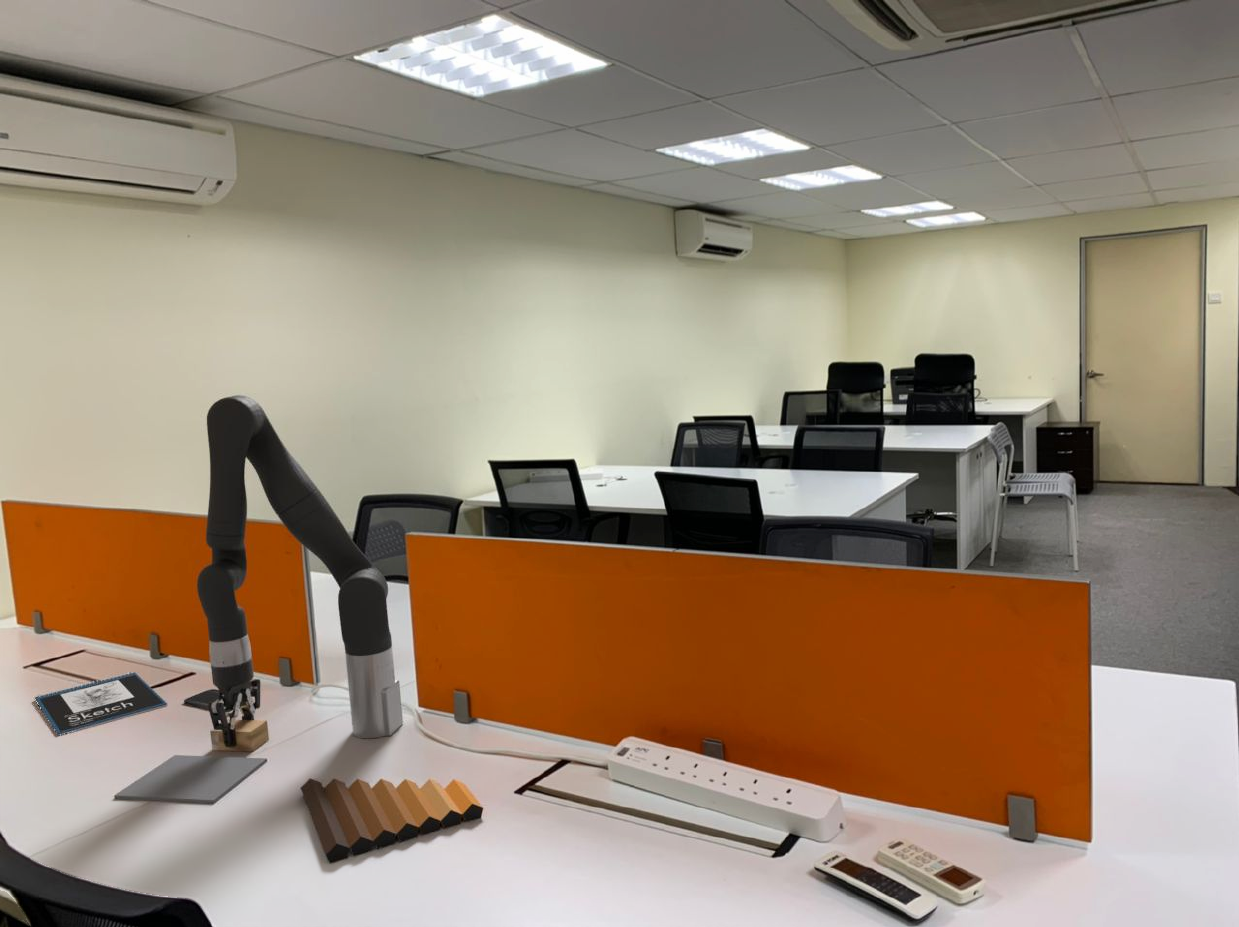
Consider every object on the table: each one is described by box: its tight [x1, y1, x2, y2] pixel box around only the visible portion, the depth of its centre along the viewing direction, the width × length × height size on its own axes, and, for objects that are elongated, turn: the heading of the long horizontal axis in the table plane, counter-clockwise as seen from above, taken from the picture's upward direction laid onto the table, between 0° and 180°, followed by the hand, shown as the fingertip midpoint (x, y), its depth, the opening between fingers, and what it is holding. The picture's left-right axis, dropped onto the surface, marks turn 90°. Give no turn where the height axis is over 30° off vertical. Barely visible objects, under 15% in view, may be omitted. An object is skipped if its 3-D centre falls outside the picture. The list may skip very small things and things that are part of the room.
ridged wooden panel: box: [300, 777, 484, 864], centre depth 150 cm, size 25×3×25 cm
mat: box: [113, 754, 268, 804], centre depth 164 cm, size 20×16×1 cm
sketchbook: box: [34, 671, 168, 736], centre depth 206 cm, size 22×30×2 cm
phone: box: [183, 688, 233, 713], centre depth 202 cm, size 8×1×15 cm
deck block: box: [209, 718, 270, 752], centre depth 178 cm, size 9×6×4 cm, turn 79°
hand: (240, 739), depth 178 cm, fingers closed on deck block, 5 cm apart
